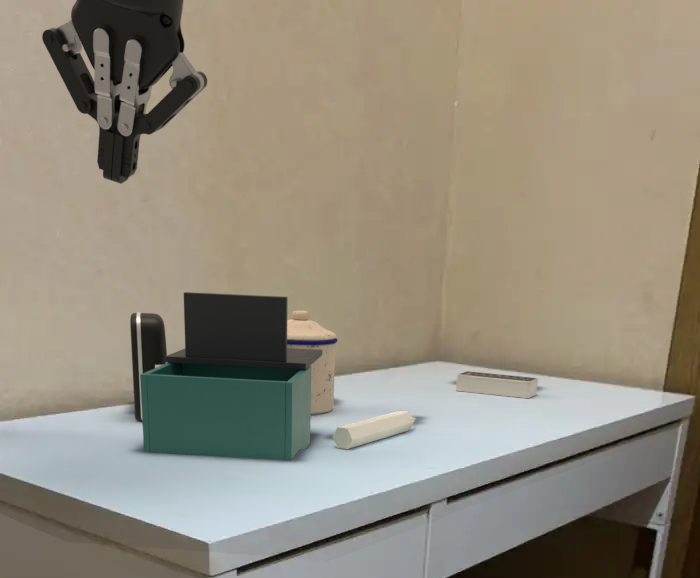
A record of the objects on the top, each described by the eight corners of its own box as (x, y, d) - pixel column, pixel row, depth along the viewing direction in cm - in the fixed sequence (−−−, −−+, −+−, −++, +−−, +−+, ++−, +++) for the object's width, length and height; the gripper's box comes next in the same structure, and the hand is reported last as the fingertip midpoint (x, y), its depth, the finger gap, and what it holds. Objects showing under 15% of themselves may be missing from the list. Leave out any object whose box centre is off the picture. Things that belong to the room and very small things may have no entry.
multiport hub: (528, 398, 131) (530, 381, 130) (455, 390, 136) (456, 374, 135) (537, 394, 135) (538, 378, 134) (465, 386, 139) (466, 370, 138)
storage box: (144, 461, 88) (140, 374, 85) (179, 436, 99) (176, 358, 96) (291, 470, 87) (292, 382, 84) (310, 444, 98) (311, 365, 95)
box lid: (165, 362, 92) (162, 291, 90) (196, 349, 103) (195, 285, 101) (305, 369, 91) (307, 298, 88) (322, 355, 102) (323, 291, 99)
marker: (416, 432, 109) (344, 453, 96) (403, 421, 110) (329, 441, 97) (428, 414, 108) (355, 433, 95) (414, 403, 108) (341, 420, 95)
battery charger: (169, 422, 106) (165, 316, 101) (135, 422, 105) (129, 315, 101) (168, 411, 112) (165, 311, 108) (136, 411, 111) (131, 310, 107)
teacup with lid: (259, 402, 120) (259, 307, 116) (329, 402, 122) (331, 308, 117) (268, 420, 109) (268, 315, 105) (345, 420, 111) (348, 317, 106)
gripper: (241, -48, 69) (206, 193, 80) (70, -105, 69) (59, 144, 80) (209, -44, 63) (176, 216, 74) (23, -105, 63) (17, 163, 74)
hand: (115, 178), depth 77 cm, fingers closed
